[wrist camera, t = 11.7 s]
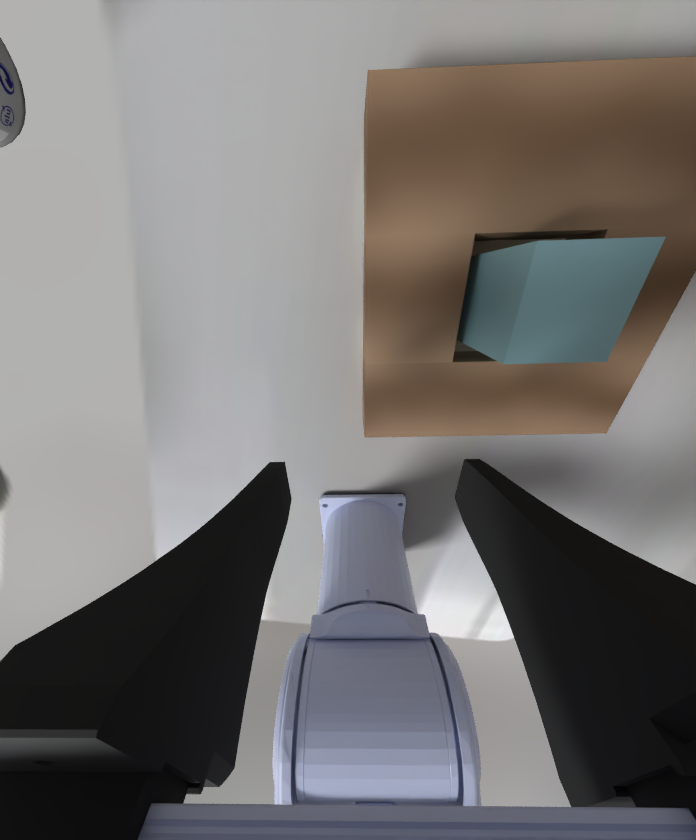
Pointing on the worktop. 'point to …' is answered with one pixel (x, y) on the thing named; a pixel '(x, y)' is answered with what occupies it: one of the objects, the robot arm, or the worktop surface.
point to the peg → (554, 298)
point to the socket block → (515, 228)
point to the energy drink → (10, 99)
